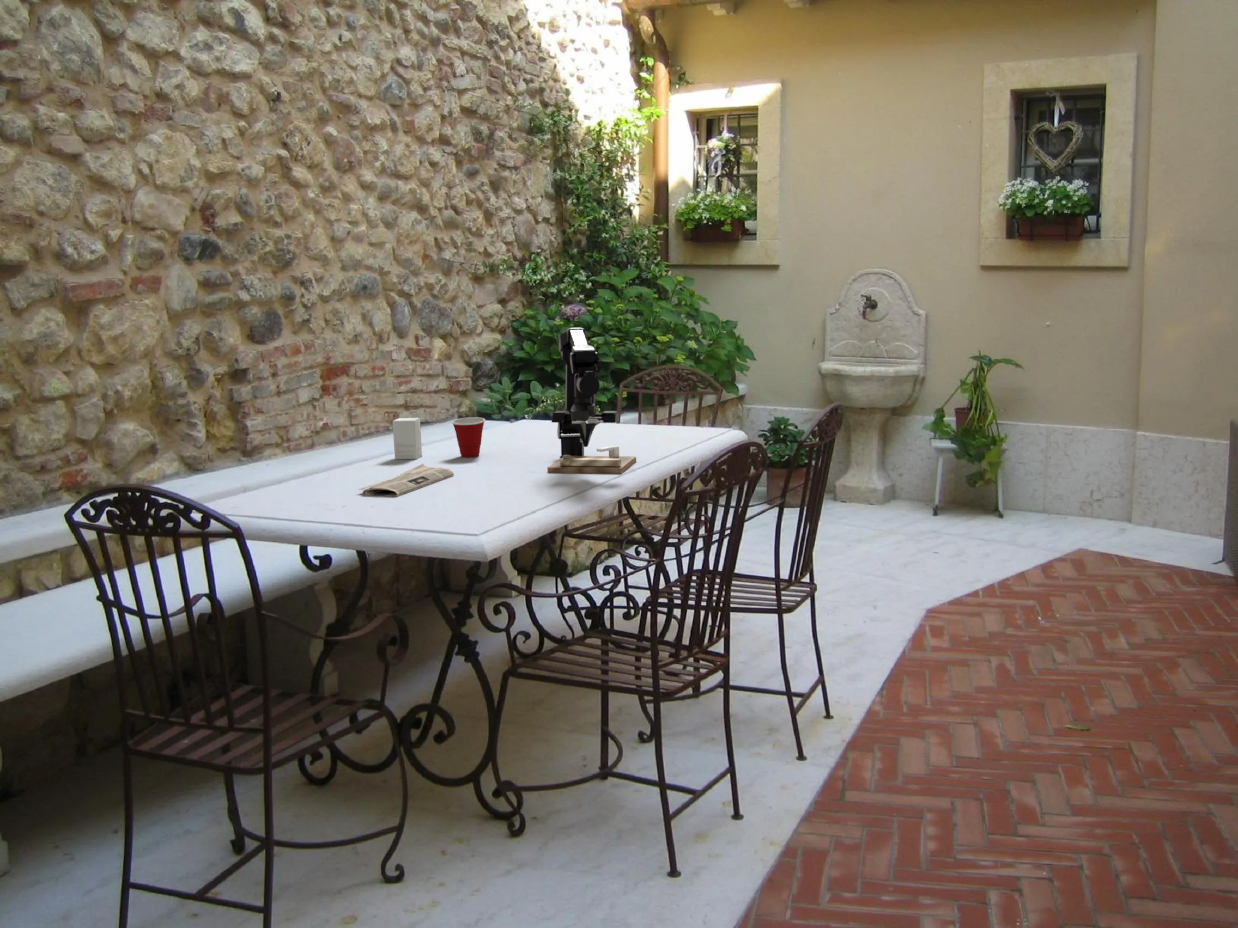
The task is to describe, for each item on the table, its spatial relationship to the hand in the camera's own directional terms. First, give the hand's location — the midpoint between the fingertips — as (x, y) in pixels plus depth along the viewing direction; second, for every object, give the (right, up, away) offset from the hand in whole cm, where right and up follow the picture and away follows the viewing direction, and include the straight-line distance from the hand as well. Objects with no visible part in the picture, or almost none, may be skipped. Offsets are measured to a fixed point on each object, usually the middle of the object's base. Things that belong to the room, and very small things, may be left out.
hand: (586, 446), depth 338 cm
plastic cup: (-39, -3, +42) cm, 57 cm away
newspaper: (-49, -11, -9) cm, 52 cm away
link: (+1, -5, +7) cm, 9 cm away
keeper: (+6, -3, +21) cm, 22 cm away
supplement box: (-58, -3, +41) cm, 71 cm away
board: (+2, -6, +15) cm, 17 cm away
